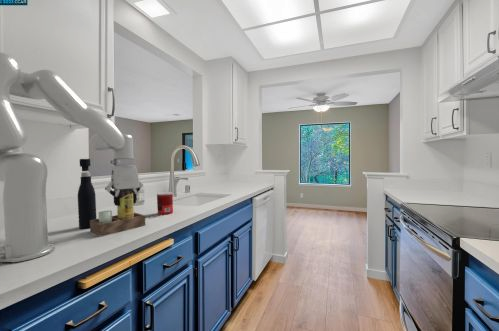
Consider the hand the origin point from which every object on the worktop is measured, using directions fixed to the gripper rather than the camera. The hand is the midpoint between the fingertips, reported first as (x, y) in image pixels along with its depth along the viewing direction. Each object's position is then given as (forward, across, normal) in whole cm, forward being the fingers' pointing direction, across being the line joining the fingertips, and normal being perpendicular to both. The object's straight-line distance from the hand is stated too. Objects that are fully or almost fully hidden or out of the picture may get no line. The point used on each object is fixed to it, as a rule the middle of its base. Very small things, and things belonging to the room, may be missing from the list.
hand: (125, 203), depth 101 cm
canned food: (+10, +24, +8) cm, 27 cm away
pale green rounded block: (+10, -8, 0) cm, 13 cm away
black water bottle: (+10, -10, +14) cm, 20 cm away
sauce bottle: (+8, 0, 0) cm, 8 cm away
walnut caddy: (+10, -3, 0) cm, 10 cm away
